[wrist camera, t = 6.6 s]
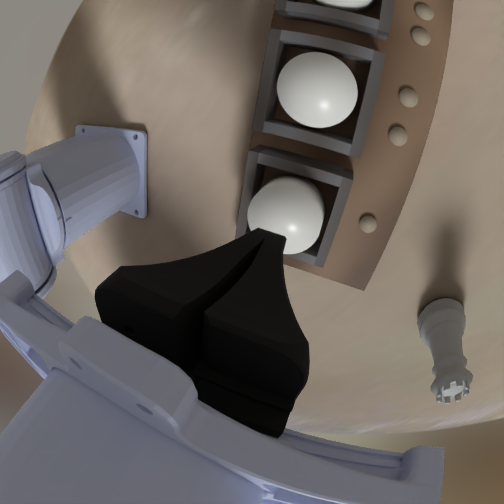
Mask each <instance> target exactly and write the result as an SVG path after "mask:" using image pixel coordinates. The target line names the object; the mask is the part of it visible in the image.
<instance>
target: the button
mask: <svg viewBox="0 0 504 504" xmlns="http://www.w3.org/2000/svg"><path fill="white" fill-rule="evenodd" d="M324 216H325V202H324V199H323V196H322V194H321V192H320V191H319V189H318V188H317V187H316V186H315V185H314V184H313V183H312V182H310V181H309V180H307V179H305V178H303V177H301V176H297V175H291V174H288V175H281V176H277V177H275V178H273V179H272V180H270V181H269V182H268V183H267V184H266V185H265V186H264V187H263V188H262V189H261V190H260V191H259V192H258V193H257V194H256V195H255V196H254V197H253V199H252V200H251V202H250V205H249V208H248V214H247V217H248V224H249V227H250V230H251V231H252V230H254V229H256V228H261V229H264V230H267V231H271V232H274V233H277V234H280V235H283V236H285V237H286V239H287V240H286V244H285V248H284V252H283V254H296V253H300V252H303V251H305V250H306V249H308V248H309V247H311V246H312V245H313V244H314V243H315V241H316V240H317V238H318V236H319V234H320V230H321V227H322V223H323V220H324Z"/></svg>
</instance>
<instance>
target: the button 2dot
mask: <svg viewBox="0 0 504 504" xmlns="http://www.w3.org/2000/svg"><path fill="white" fill-rule="evenodd" d="M277 94H278V98H279V101H280V103H281V105H282V107H283V108H284V110H285V111H286V112H287V114H288V115H289V116H290V117H292V118H293V119H294V120H296V121H297V122H299V123H301V124H303V125H306V126H310V127H316V128H325V127H330V126H333V125H336V124H338V123H340V122H342V121H343V120H344V119H346V118H347V117H348V116H349V115H350V113H351V112H352V110H353V109H354V107H355V104H356V101H357V95H358V90H357V84H356V80H355V78H354V76H353V74H352V72H351V71H350V69H349V68H348V67H347V66H346V65H345V64H344V63H343V62H342V61H340V60H339V59H337V58H336V57H334V56H331V55H329V54H325V53H320V52H309V53H304V54H301V55H298V56H296V57H294V58H293V59H291V60H290V61H289V62H288V63H287V64H286V65H285V66H284V67H283V69H282V70H281V72H280V75H279V77H278V81H277Z"/></svg>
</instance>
